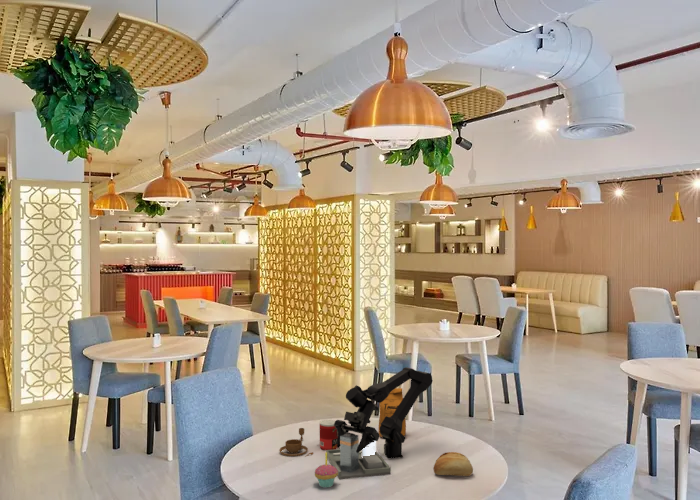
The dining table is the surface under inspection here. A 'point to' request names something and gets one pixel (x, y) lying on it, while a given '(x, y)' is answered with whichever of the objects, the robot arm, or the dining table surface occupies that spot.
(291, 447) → the place setting
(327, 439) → the canned food
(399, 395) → the coffee package
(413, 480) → the dining table surface
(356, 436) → the block
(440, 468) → the bread roll
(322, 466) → the cupcake
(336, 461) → the case
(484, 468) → the dining table surface
